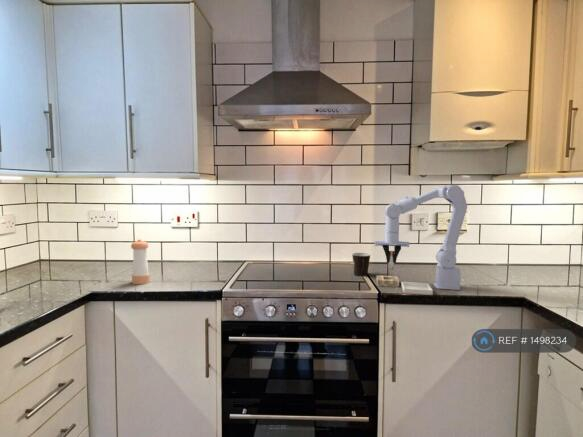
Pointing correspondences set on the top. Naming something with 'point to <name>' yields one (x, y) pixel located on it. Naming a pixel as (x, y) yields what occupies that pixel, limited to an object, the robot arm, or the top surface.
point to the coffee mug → (361, 263)
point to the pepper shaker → (140, 263)
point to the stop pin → (391, 260)
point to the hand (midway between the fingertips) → (391, 262)
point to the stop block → (387, 281)
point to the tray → (416, 288)
